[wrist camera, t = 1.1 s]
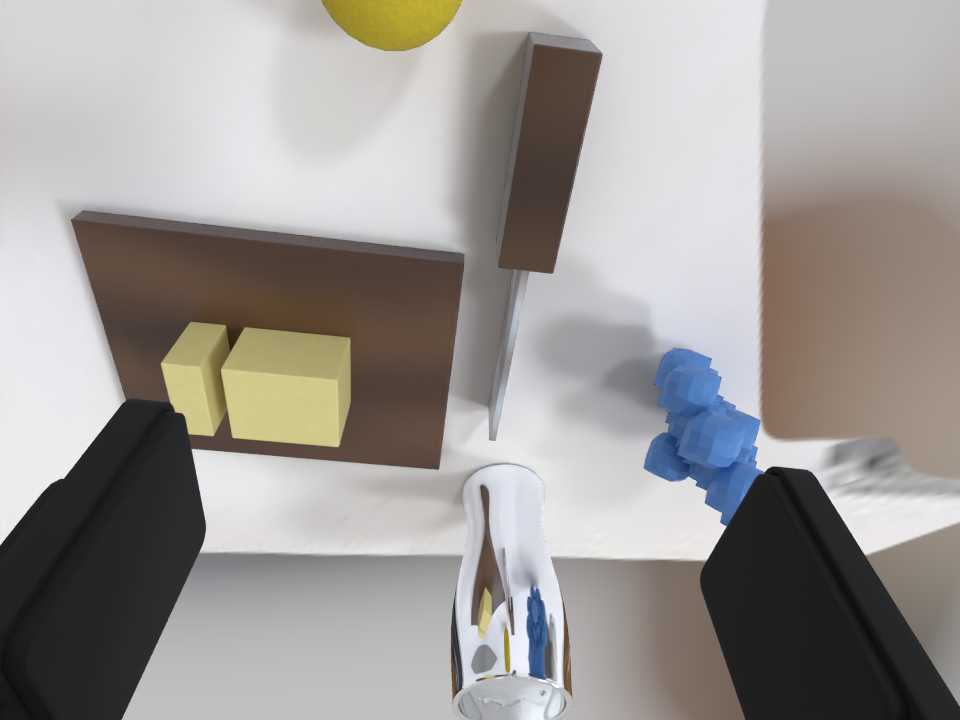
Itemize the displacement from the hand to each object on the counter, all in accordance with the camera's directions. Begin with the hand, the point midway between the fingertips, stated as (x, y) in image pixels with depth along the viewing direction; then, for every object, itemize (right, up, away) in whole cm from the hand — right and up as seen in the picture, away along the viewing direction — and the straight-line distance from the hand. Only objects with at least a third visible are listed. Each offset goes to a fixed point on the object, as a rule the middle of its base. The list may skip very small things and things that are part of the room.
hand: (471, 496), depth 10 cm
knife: (+2, +8, +23) cm, 24 cm away
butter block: (-11, +2, +25) cm, 28 cm away
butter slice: (-16, +2, +25) cm, 30 cm away
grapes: (+12, +1, +28) cm, 30 cm away
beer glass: (+2, -7, +34) cm, 35 cm away
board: (-12, +3, +26) cm, 29 cm away
